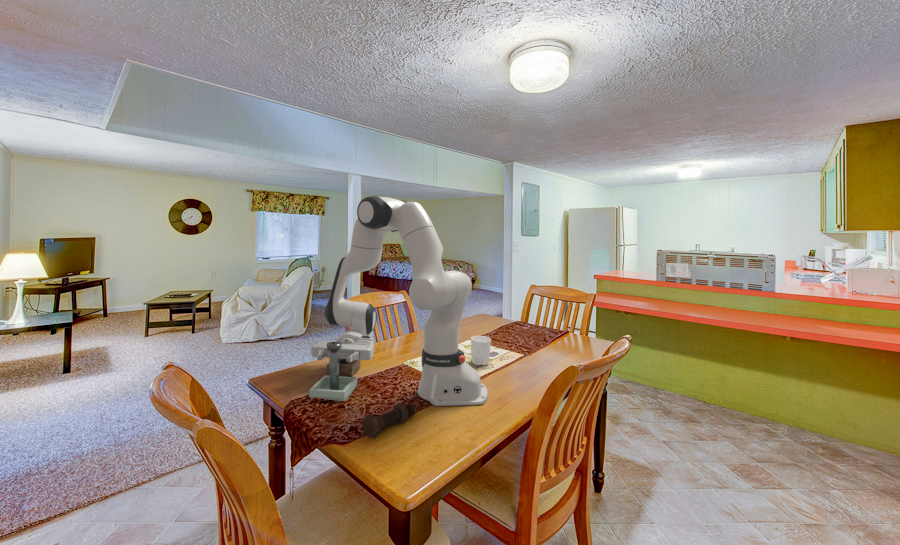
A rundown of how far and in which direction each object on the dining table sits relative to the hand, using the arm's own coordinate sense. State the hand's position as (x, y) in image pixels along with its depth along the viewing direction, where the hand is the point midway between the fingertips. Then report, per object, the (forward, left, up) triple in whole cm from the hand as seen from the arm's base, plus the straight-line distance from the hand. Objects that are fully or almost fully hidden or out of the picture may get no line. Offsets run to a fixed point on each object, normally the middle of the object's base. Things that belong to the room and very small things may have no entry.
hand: (333, 358), depth 111 cm
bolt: (-23, +16, -11) cm, 30 cm away
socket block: (+3, -16, -11) cm, 20 cm away
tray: (0, 0, -11) cm, 11 cm away
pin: (0, 0, -10) cm, 10 cm away
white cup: (-46, -33, -11) cm, 58 cm away
